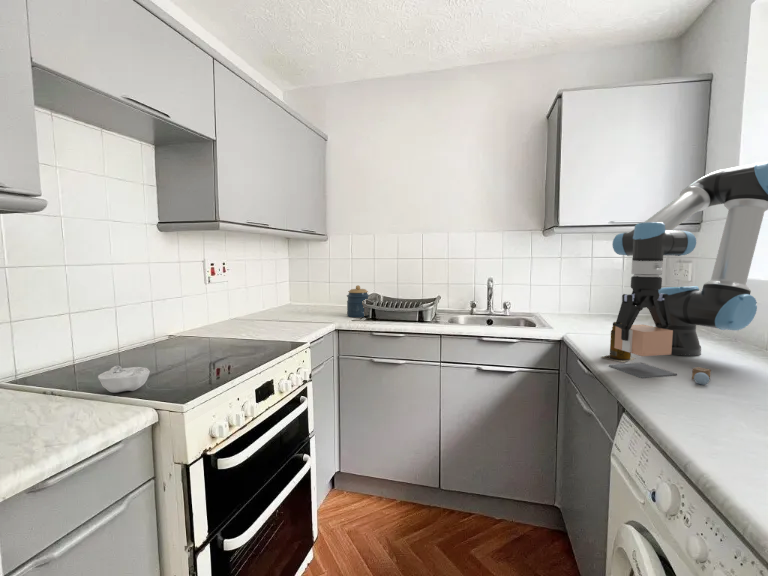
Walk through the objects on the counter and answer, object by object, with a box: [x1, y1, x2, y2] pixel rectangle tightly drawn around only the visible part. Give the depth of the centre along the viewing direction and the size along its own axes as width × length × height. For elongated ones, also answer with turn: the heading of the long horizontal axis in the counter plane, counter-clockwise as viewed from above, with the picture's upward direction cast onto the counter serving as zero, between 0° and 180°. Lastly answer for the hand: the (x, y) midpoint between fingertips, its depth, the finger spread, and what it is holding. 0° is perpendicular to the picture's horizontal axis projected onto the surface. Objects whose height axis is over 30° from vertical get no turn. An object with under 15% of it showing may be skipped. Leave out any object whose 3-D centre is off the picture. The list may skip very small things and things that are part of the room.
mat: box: [608, 361, 678, 379], centre depth 116 cm, size 12×12×1 cm
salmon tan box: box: [614, 324, 673, 357], centre depth 115 cm, size 10×10×7 cm
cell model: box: [97, 365, 151, 394], centre depth 102 cm, size 10×12×7 cm
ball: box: [693, 372, 710, 386], centre depth 103 cm, size 3×3×3 cm
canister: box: [346, 285, 370, 318], centre depth 221 cm, size 13×13×18 cm
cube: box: [691, 366, 712, 381], centre depth 107 cm, size 3×3×3 cm
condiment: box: [601, 321, 637, 364], centre depth 129 cm, size 7×8×12 cm
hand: (642, 350), depth 115 cm, fingers closed on salmon tan box, 10 cm apart
